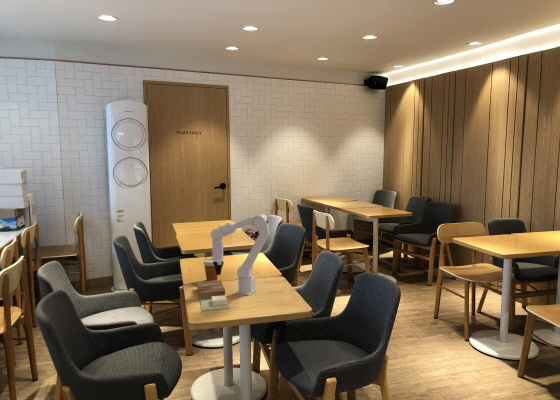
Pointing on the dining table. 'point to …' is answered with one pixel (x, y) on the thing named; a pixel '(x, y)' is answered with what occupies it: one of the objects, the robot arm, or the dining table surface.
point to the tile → (219, 300)
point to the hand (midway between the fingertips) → (218, 274)
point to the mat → (211, 305)
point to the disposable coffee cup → (210, 270)
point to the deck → (210, 289)
